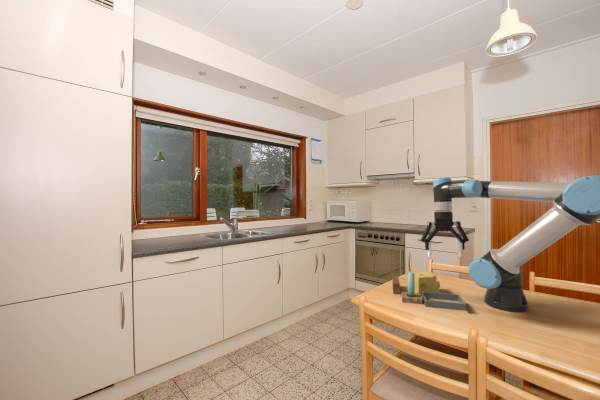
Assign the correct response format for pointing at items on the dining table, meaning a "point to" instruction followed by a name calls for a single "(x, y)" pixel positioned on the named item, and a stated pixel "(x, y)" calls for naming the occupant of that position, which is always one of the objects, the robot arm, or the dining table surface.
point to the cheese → (426, 282)
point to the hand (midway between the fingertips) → (445, 256)
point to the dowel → (411, 285)
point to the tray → (444, 305)
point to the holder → (411, 298)
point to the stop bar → (396, 285)
